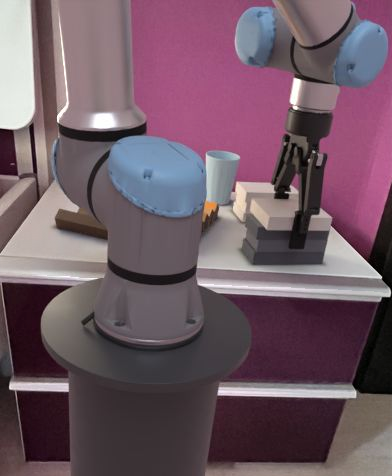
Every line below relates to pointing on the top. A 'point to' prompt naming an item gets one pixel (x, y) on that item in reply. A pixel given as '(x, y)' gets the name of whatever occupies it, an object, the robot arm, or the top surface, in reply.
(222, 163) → the cup
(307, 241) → the grey books
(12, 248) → the top surface
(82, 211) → the pan flute
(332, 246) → the top surface
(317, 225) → the white book
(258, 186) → the white books
